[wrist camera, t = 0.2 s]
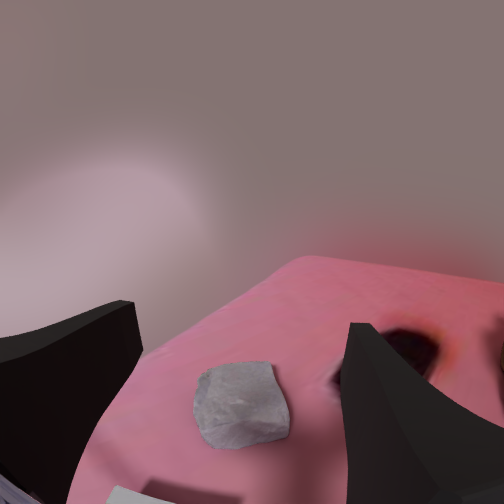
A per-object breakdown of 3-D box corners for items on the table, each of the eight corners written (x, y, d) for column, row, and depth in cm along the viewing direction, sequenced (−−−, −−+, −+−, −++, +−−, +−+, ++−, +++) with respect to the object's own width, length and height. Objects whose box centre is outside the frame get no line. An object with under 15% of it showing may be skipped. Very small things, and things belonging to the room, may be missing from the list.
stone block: (208, 463, 27) (299, 438, 28) (190, 437, 25) (291, 409, 26) (201, 396, 38) (273, 375, 39) (188, 369, 37) (264, 347, 38)
